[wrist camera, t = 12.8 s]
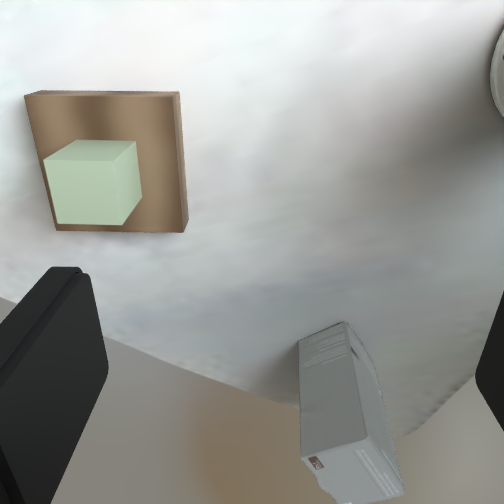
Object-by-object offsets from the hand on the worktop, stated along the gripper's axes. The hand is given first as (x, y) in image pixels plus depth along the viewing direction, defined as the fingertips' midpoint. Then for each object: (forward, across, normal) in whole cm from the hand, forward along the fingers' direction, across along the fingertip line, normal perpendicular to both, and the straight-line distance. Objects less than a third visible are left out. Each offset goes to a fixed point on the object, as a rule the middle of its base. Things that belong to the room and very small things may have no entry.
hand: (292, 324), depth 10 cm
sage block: (+27, +14, +5) cm, 31 cm away
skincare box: (+31, -8, +28) cm, 42 cm away
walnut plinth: (+30, +14, +5) cm, 34 cm away
